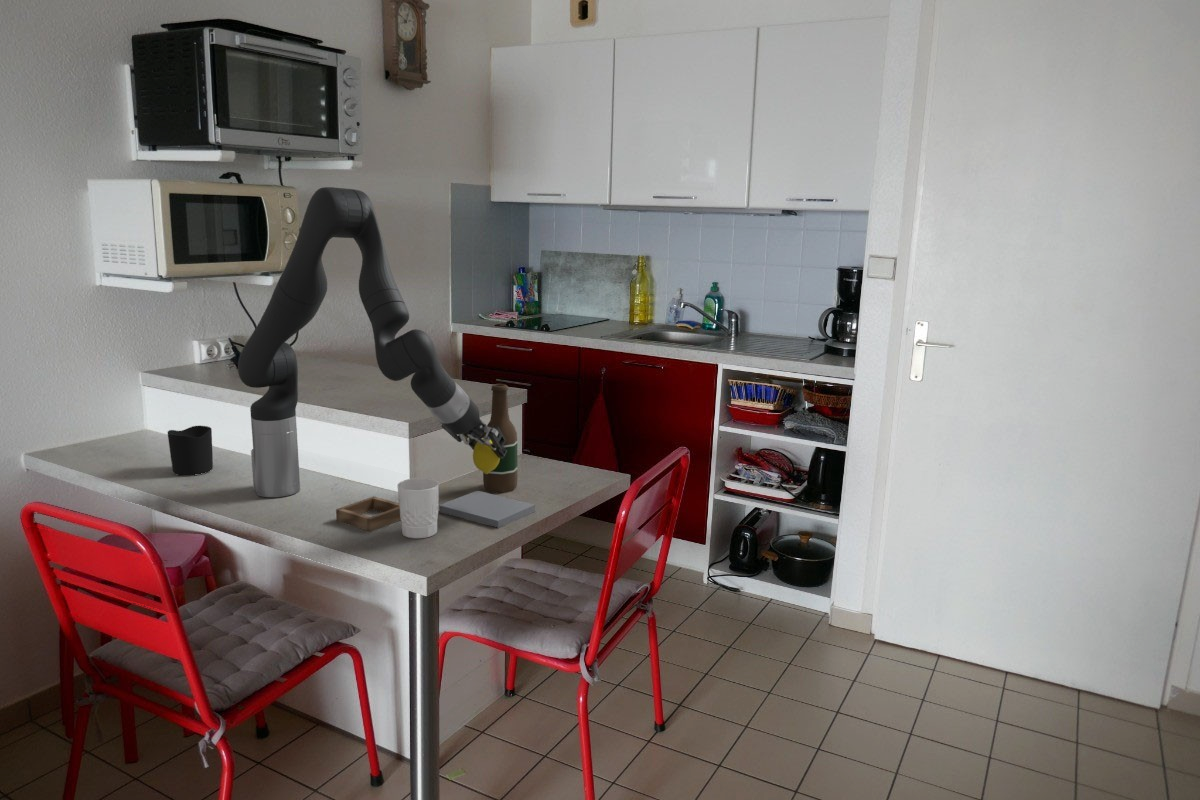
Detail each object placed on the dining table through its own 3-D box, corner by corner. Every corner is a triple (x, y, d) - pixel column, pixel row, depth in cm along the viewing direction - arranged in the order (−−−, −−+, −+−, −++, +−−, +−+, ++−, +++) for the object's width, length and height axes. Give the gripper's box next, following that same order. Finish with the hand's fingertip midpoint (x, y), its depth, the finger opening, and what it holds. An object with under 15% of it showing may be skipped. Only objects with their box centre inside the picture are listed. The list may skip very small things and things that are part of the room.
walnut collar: (336, 520, 178) (336, 509, 178) (374, 507, 186) (373, 496, 186) (371, 531, 173) (370, 519, 172) (408, 517, 181) (407, 505, 180)
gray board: (439, 512, 184) (439, 505, 184) (477, 497, 194) (477, 490, 194) (498, 528, 176) (498, 520, 175) (534, 511, 185) (535, 504, 185)
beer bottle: (484, 494, 196) (483, 388, 191) (482, 483, 204) (480, 381, 198) (519, 492, 198) (519, 387, 192) (515, 482, 205) (515, 381, 200)
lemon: (473, 470, 185) (473, 433, 184) (499, 470, 186) (499, 433, 184) (472, 478, 180) (472, 440, 178) (499, 477, 180) (499, 440, 179)
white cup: (442, 525, 177) (441, 477, 174) (436, 540, 169) (435, 490, 167) (403, 525, 176) (401, 477, 174) (395, 540, 169) (393, 490, 166)
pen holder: (207, 476, 205) (204, 435, 203) (165, 477, 204) (161, 435, 202) (219, 465, 214) (216, 425, 212) (179, 465, 213) (175, 425, 211)
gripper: (488, 395, 169) (527, 443, 181) (433, 386, 177) (474, 432, 189) (470, 427, 166) (511, 473, 178) (415, 417, 173) (457, 462, 186)
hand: (492, 452), depth 184 cm, fingers closed on lemon, 5 cm apart
